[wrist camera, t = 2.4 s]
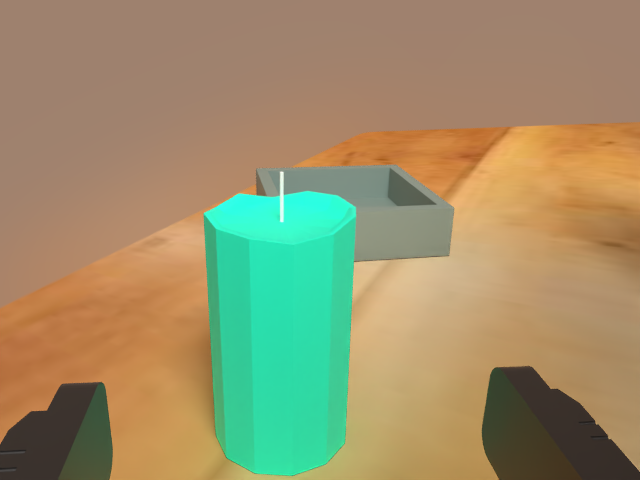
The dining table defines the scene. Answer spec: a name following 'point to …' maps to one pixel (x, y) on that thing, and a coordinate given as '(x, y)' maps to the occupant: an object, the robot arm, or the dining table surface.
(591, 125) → the dining table surface
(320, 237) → the candle
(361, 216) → the tray
